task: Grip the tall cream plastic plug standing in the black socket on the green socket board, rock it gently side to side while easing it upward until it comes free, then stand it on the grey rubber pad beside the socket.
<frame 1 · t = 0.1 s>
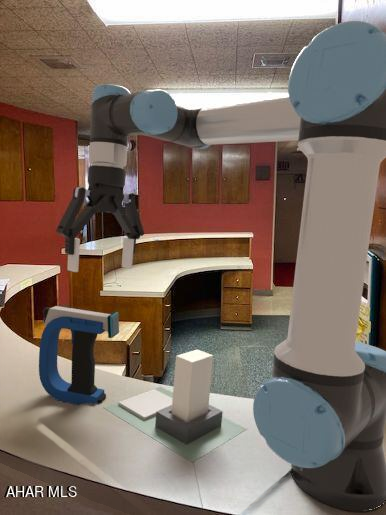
hand: (101, 269, 87), 28 cm above the counter, tool pointing down, fingers open, 13 cm apart
handheld scanner: (76, 400, 88), on the counter
green socket board: (173, 422, 82), on the counter
plug: (188, 426, 79), point 1 cm above the counter, touching green socket board
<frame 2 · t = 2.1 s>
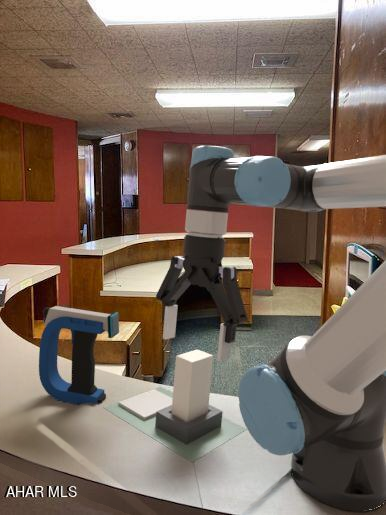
hand: (194, 348, 78), 16 cm above the counter, tool pointing down, fingers open, 13 cm apart
nothing on the counter moved.
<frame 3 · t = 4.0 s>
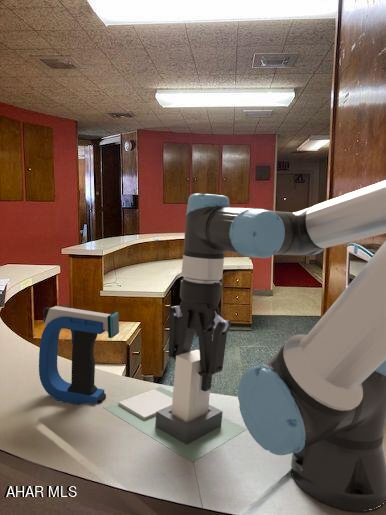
hand: (191, 400, 79), 6 cm above the counter, tool pointing down, fingers closed on plug, 4 cm apart
plug: (188, 426, 79), point 1 cm above the counter, touching gripper, green socket board
everything else where it was.
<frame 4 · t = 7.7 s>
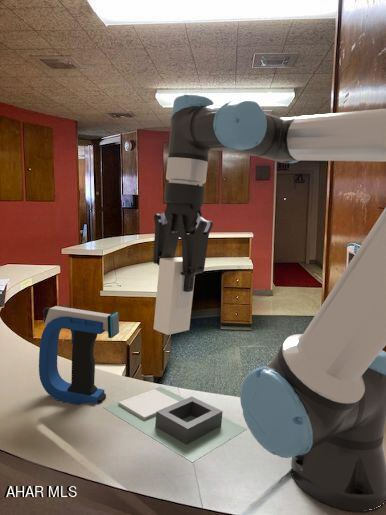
hand: (173, 304, 81), 23 cm above the counter, tool pointing down, fingers closed on plug, 4 cm apart
plug: (171, 329, 82), point 18 cm above the counter, touching gripper
everything else where it was.
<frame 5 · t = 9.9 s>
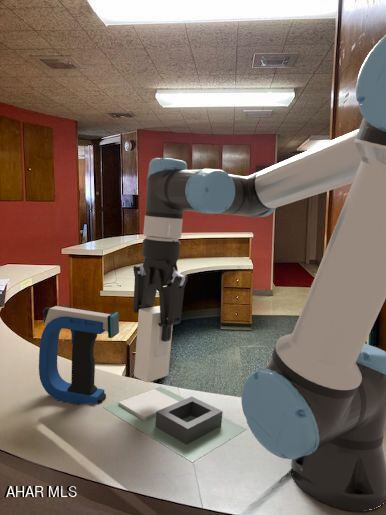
hand: (153, 351, 85), 12 cm above the counter, tool pointing down, fingers closed on plug, 4 cm apart
plug: (151, 375, 86), point 7 cm above the counter, touching gripper
everything else where it was.
when the fingers open (8 cm above the counter, at t = 11.4 s): plug drops 1 cm, resting on green socket board.
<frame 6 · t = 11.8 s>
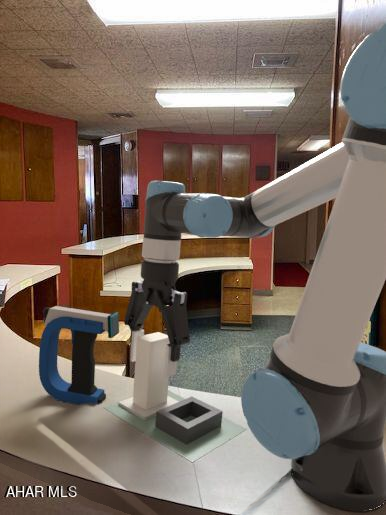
hand: (152, 367, 85), 9 cm above the counter, tool pointing down, fingers open, 9 cm apart
plug: (150, 402, 86), point 2 cm above the counter, touching green socket board
everything else where it was.
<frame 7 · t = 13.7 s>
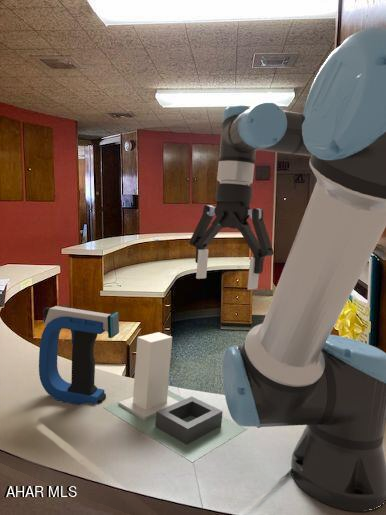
hand: (225, 283, 90), 27 cm above the counter, tool pointing down, fingers open, 13 cm apart
nothing on the counter moved.
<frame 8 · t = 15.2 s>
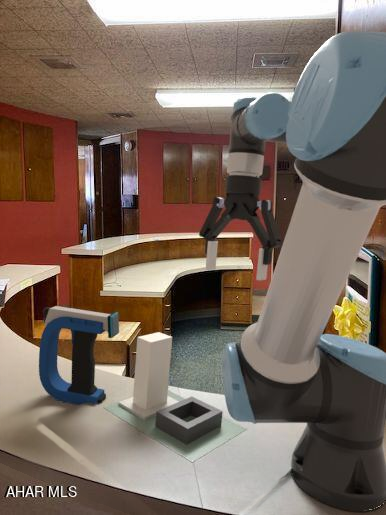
hand: (234, 274, 91), 29 cm above the counter, tool pointing down, fingers open, 13 cm apart
nothing on the counter moved.
at the end: plug inside the target area on the green socket board (0.1 cm from its centre), point 1.6 cm above the green socket board's base; plug tilted 0°; the gripper is holding nothing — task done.
